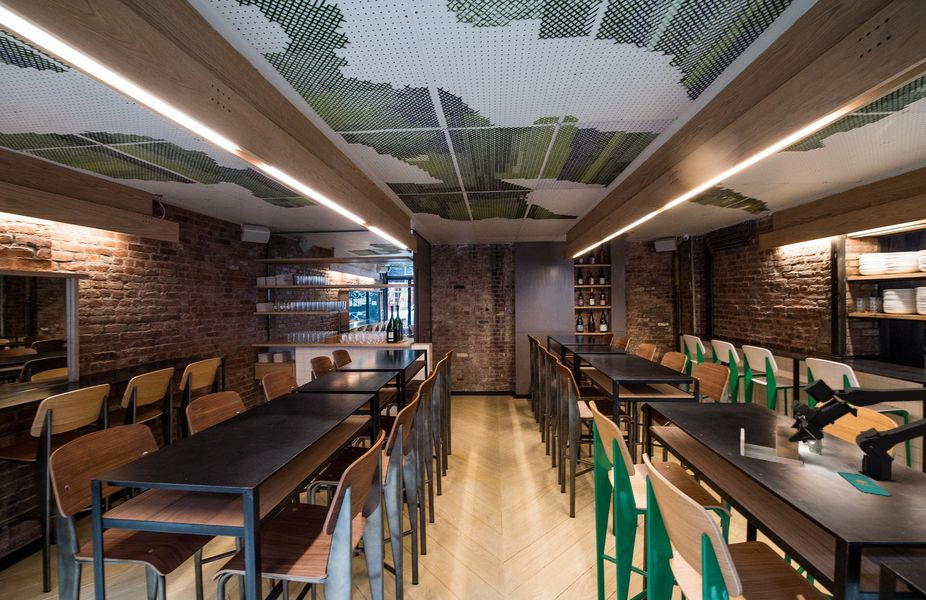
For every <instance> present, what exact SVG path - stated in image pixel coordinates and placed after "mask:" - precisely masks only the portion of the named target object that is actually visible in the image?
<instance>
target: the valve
mask: <svg viewBox="0 0 926 600" xmlns="http://www.w3.org/2000/svg"><path fill="white" fill-rule="evenodd" d="M801 442H802V443H803V444H806V443H807V444H808V450H809V452H810V453H813V454H818V455H819V456H822V450H823V443H822V442H823V439H821V440H819V441H818V440H817V439H816V440H809V441H801Z"/></svg>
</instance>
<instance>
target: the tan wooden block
mask: <svg viewBox="0 0 926 600" xmlns="http://www.w3.org/2000/svg"><path fill="white" fill-rule="evenodd" d="M775 427H776V428H775V432H776V433H775V449H776V453H775V454H776V456H777V457H782V458H787V459H792V460H797V461H798V453H799V452H800V451H799V447H800V446H799V444H800V441H799V442H790V441H789V440H788V439H789V438H790V437H791V436H793V435H794V434H795V433H796V432H797V431H798V430H797V429H796V428H790V427H791V426H790V427H788V426H782V425H775Z"/></svg>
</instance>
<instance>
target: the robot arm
mask: <svg viewBox="0 0 926 600" xmlns="http://www.w3.org/2000/svg"><path fill="white" fill-rule="evenodd" d="M802 392H804V393H806V394H807V395H808V396H809V397H810V398H811V399H812V400H813V401H815V402H816V403H822V404H823V405H821V406H814V407H811V406H809V405H808V404H806V403H804V402H801V401H800V400H797V399H794V400H793V402H792V403H791V405H790V409H791V410H792V411H794V412H796V414H795V421H794V423H793V424H792V425H791V426H790V428H796V429H797V430H798V431H797V432H796V433H795V434H794V435H793V436H791V437H790V438H789V439H788V440H789V441H790V442H799V443H800V442H802V441H809V440H816V439H817V440H818V441H819V440H821V439H822V440H823V439H824V438H825V434H824V432H823V431H824V428H825V427H827V426H829V425H835V424H836V421H837V420H839V419H842V417H844V416H846V415H848V414H849V413H850V414H851V415H852V416H853V417H854V418H858V410H859V409H858V408H864V407H869V406H875V405H878V404H882V403H892V402H893V403H895V402H898V403H899V402H901V403H902V402H903V403H904V402H926V387H924V386H923V387H902V388H900V387H899V388H882V389H879V388H878V389H877V388H870V387H860V386H849V387H846V388H845V389H841V388H840V389H835V388H834V389H833V388H832V387H830V386H829V385H828V384H827V382H825V381H824V380H823V379H822V378H819V379H817V380H814V381H812V382H809V383H807V384H806V385H805V386H804V387H803V388H802ZM835 396H836V397H837V398H838V399H837V398H836V397H835ZM847 402H848V403H847ZM851 405H852V406H854V407H852V406H851ZM857 407H858V408H857ZM859 432H860V433H858V434H857V435H856V437H855V444H856V445H857V446H858V448H859V449H860V450H861V451H862V452H863V453H864V454H862V459H861V470H858V471H857V472H858V473H859V474H860V475H864V476H866V477H867V478H871V479H872V480H875V481H878V482H882V481H883V482H890V481H891V482H896V481H897V479H896V478H894V477H893V476H892V473H893V472H892V469H893V468H892V467H893V466H892V465H893V462H894V458H893V457H892V455H890V453H888V452H889V451H890V450H892V449H893V448H894V447H895V446H897V445H898V444H901V443H902V444H903V443H905V442H908V441H911V440H913V439H918V438H921V437H924V436H926V417H924V418H921V419H918V420H915V421H912V422H909V423H905V424H902V425H899V426H897V427H894V428H890V429H887V430H877V429H876V428H875V427H870V428H869V429H866V430H865V431H864V430H863V431H862V430H861V431H859Z"/></svg>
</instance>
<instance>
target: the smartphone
mask: <svg viewBox="0 0 926 600" xmlns="http://www.w3.org/2000/svg"><path fill="white" fill-rule="evenodd" d="M837 474H838V475H839V476H840V477H841V478H843V479H844V480H845V481H847V483H849V484H850V485H851V486H853V487H854V488H855V487H856V488H855V489H857V490H858V491H859V492H860V491H861V492H860V493H863V492H864V493H863V494H868V493H870V495H874V494H875V495H876V496H881V495H882V496H883V497H887V498H890V496H891V497H892V495H891V494H890V493H889V492H887V491H886V490H884V489H883V488H882V487H881V486H879V485H878V484H876V483H875V482H874V481H872V480H871V479H869V477H868V476H866V475H863V474H861V473H859V474H858V473H852V472H846V471H845V472H843V471H837ZM882 496H881V497H882Z"/></svg>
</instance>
